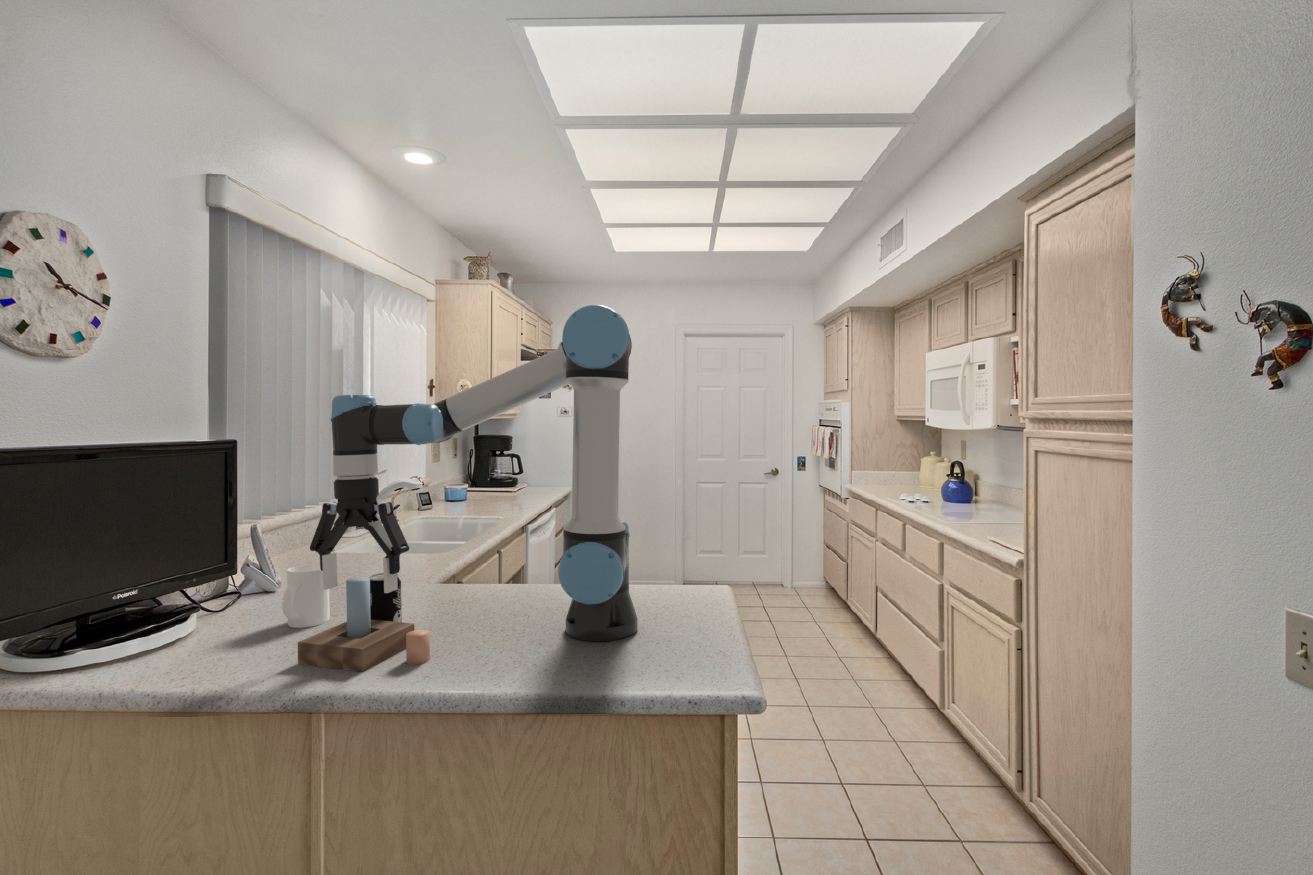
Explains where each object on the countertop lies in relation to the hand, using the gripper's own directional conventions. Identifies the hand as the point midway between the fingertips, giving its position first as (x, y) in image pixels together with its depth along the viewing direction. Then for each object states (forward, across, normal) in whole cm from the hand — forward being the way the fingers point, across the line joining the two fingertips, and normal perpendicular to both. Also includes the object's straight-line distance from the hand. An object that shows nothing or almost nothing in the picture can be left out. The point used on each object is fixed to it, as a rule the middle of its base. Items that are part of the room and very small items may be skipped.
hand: (360, 589), depth 114 cm
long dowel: (+12, +1, 0) cm, 12 cm away
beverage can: (+12, +4, -10) cm, 17 cm away
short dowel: (+12, -12, 0) cm, 18 cm away
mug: (+12, +25, -11) cm, 29 cm away
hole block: (+12, +1, 0) cm, 12 cm away
